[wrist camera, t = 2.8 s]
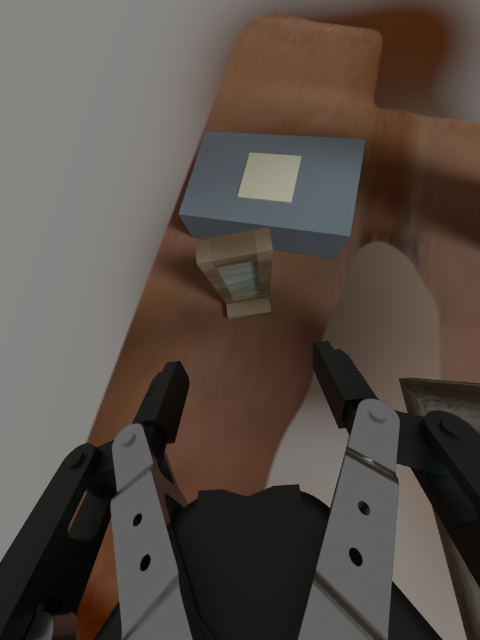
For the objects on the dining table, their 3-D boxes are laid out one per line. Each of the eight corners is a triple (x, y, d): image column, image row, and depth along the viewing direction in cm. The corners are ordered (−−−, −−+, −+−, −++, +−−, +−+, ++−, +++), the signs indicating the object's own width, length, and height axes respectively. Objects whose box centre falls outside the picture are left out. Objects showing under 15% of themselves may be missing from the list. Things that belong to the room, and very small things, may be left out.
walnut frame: (270, 313, 26) (277, 274, 14) (229, 319, 27) (198, 287, 14) (264, 274, 28) (264, 204, 15) (224, 280, 28) (192, 219, 16)
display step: (348, 175, 29) (366, 137, 24) (334, 258, 27) (350, 235, 22) (214, 164, 32) (205, 129, 27) (192, 236, 30) (177, 213, 25)
